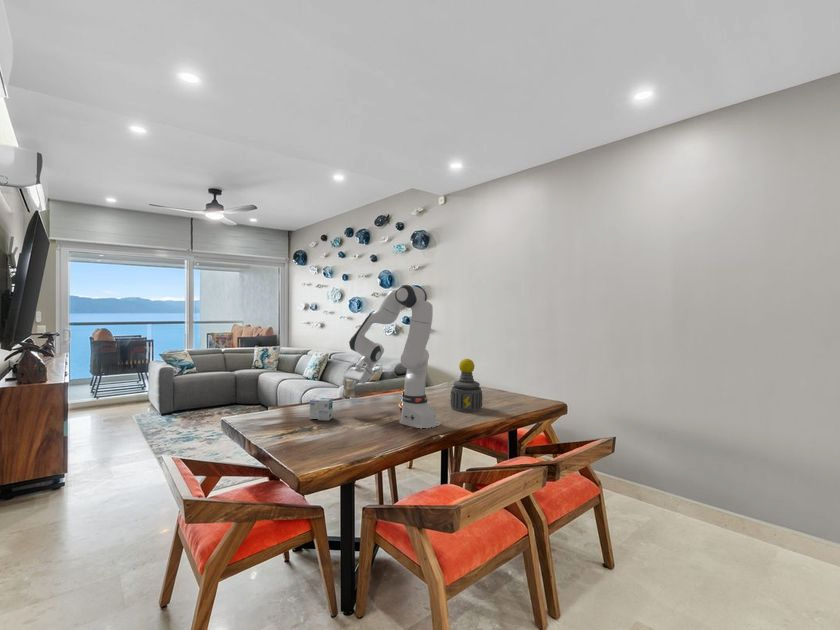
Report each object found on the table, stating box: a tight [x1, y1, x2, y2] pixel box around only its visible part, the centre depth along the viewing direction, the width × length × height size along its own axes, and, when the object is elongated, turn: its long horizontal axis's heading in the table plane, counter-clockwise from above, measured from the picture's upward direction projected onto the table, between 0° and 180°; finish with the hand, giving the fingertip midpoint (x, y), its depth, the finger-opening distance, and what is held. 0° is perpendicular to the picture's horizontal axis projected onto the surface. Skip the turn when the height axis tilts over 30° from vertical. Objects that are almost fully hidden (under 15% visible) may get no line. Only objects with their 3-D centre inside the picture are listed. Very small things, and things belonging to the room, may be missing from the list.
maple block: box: [343, 378, 356, 398], centre depth 233 cm, size 5×4×9 cm
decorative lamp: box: [449, 358, 484, 413], centre depth 251 cm, size 19×19×30 cm
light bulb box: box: [309, 397, 334, 421], centre depth 224 cm, size 11×7×11 cm, turn 84°
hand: (348, 386), depth 233 cm, fingers closed on maple block, 5 cm apart
